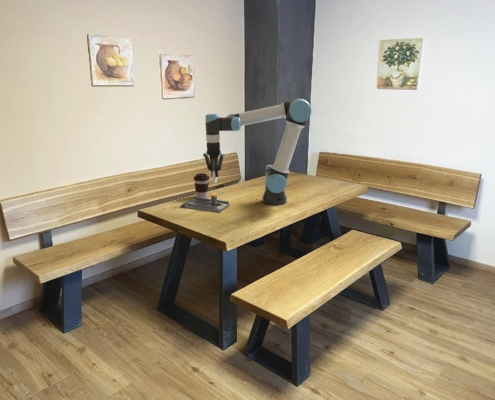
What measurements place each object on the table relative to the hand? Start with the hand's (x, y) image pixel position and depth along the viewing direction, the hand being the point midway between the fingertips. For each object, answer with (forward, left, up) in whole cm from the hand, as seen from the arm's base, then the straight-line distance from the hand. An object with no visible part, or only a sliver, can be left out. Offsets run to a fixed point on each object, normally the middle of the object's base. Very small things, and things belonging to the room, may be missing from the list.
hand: (215, 182), depth 242 cm
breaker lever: (+1, 0, -14) cm, 14 cm away
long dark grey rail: (+8, -9, -16) cm, 20 cm away
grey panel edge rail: (+18, 0, -16) cm, 24 cm away
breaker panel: (+7, 0, -16) cm, 17 cm away
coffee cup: (+18, -16, -16) cm, 29 cm away
